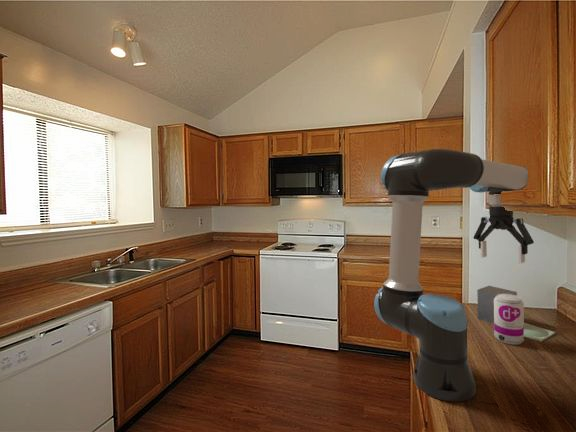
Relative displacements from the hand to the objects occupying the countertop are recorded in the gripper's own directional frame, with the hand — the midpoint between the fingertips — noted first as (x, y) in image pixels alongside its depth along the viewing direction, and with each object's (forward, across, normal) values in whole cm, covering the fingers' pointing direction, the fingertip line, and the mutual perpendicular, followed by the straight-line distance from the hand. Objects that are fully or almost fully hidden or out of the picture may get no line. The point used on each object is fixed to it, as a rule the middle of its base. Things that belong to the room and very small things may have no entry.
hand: (501, 259), depth 119 cm
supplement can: (+24, -10, +16) cm, 30 cm away
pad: (+24, -12, +5) cm, 27 cm away
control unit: (+24, 0, +4) cm, 24 cm away
